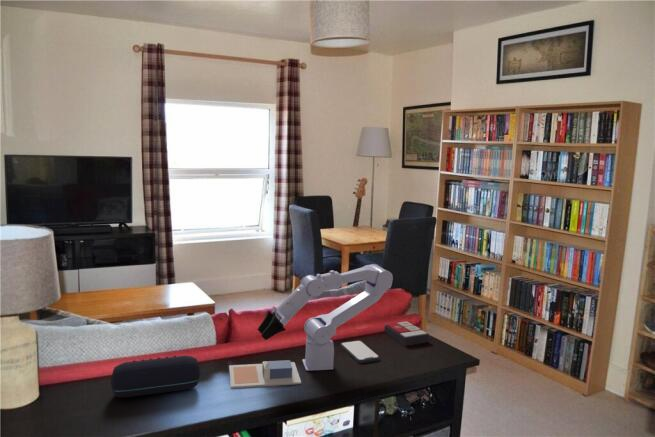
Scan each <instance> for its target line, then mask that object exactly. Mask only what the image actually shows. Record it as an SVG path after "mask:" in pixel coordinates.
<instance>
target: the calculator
mask: <svg viewBox="0 0 655 437" xmlns="http://www.w3.org/2000/svg"><path fill="white" fill-rule="evenodd" d="M384 330H385V333H386V334H387V335H388V336H390V337H392V339H394V340H395V341H397V342H398V343H399V344H401V345H402V346H404V347H409V345H410V346H416V345H421V343H422V344H426V342H428V343H429V333H427V332H426V331H424V330H422V329H421V328H420V327H418V326H416V325H413V324H412V323H410V322H408V321H400V322H393V323H392V322H391V323H387V324H385V325H384ZM415 344H416V345H415Z"/></svg>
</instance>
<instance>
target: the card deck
mask: <svg viewBox="0 0 655 437" xmlns="http://www.w3.org/2000/svg"><path fill="white" fill-rule="evenodd" d="M291 362H292V361H291V360H290V359H287V360H286V359H285V360H269V361H267V360H266V361H262V364H263V365H262V372H263V377H264V379H279V378H292V365H291Z"/></svg>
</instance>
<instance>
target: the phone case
mask: <svg viewBox="0 0 655 437" xmlns="http://www.w3.org/2000/svg"><path fill="white" fill-rule="evenodd" d="M340 347H341V348H342V349H343V350H344V351H345V352H346V353H347V354H348V355H349V356H350V357H351V358H352V359H354V360H355V362H357V363H358V364H365V363H373V362H377V361H380V356H379V355H378V354H377V352H374V350H372V348H370V347H369V346H367V345H366V344H365V343H364V342H362V340H353V341H346V342H341V343H340Z"/></svg>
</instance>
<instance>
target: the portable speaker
mask: <svg viewBox="0 0 655 437" xmlns="http://www.w3.org/2000/svg"><path fill="white" fill-rule="evenodd" d="M200 376H201V370H200V365H199V360H198V359H197V358H196V357H193V356H192V355H191V356H190V355H179V356H176V355H173V356H170V357H169V356H165V357H157V358H149V359H140V360H132V361H125V362H122V363H120V364H118V365H116V366H115V367H113V371H112V374H111V380H110V386H111V390H112V392H113V394H114V397H117V398H131V397H132V398H134V397H139V396H148V395H155V394H156V395H157V394H162V393H163V394H164V393H169V392H170V393H171V392H178V391H186V390H189V389H192V388H195V387H196V386H198V384H199V382H200V381H199V379H200Z"/></svg>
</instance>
